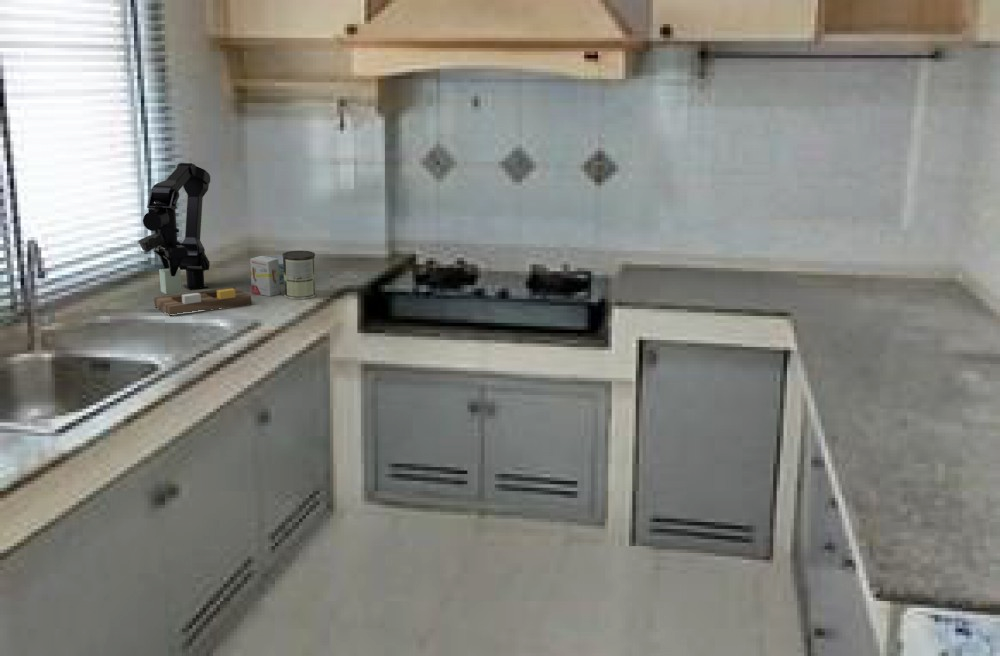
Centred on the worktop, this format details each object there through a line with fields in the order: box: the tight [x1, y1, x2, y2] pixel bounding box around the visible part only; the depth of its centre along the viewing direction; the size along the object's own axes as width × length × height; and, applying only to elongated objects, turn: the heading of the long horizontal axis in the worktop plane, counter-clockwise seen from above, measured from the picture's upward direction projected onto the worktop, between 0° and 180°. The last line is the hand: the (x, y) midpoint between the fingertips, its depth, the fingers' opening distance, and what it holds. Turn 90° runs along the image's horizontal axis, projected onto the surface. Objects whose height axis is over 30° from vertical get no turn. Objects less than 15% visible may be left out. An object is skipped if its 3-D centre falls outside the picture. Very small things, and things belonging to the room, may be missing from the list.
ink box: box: [249, 255, 281, 297], centre depth 324 cm, size 9×5×12 cm, turn 57°
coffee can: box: [282, 250, 317, 300], centre depth 321 cm, size 10×10×14 cm
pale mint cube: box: [158, 268, 183, 295], centre depth 311 cm, size 5×5×7 cm
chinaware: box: [265, 254, 284, 284], centre depth 341 cm, size 15×15×8 cm
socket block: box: [153, 286, 253, 315], centre depth 307 cm, size 13×26×5 cm, turn 128°
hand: (170, 274), depth 310 cm, fingers closed on pale mint cube, 5 cm apart
